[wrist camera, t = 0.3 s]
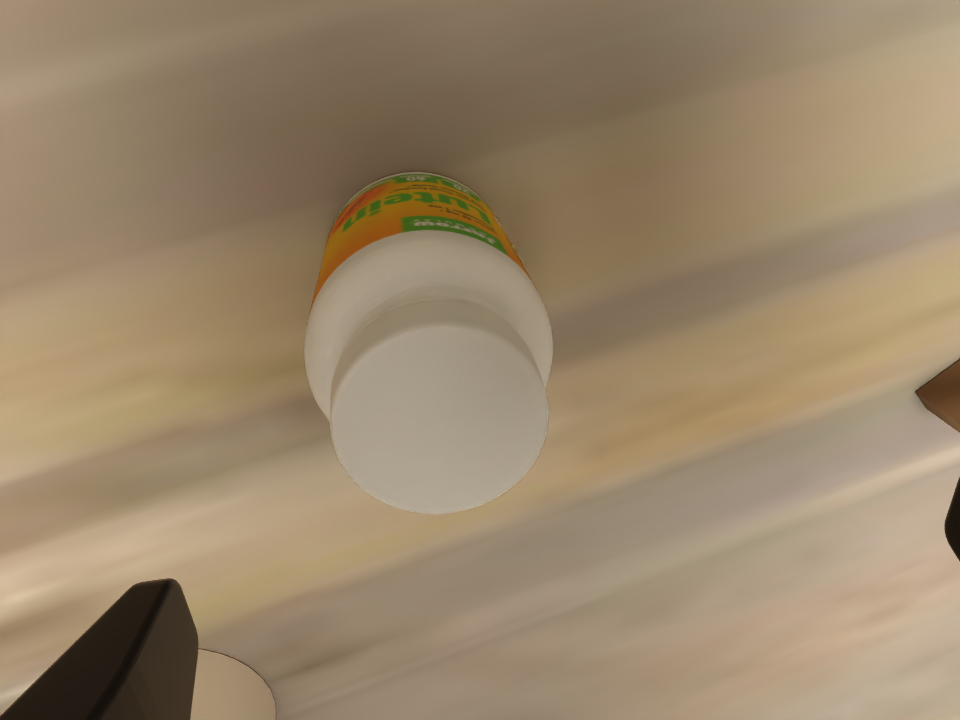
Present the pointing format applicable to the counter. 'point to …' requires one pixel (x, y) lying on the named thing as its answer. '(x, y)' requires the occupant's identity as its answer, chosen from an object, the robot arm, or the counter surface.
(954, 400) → the lane
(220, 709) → the cylindrical container
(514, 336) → the supplement bottle
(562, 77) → the counter surface
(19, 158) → the counter surface
